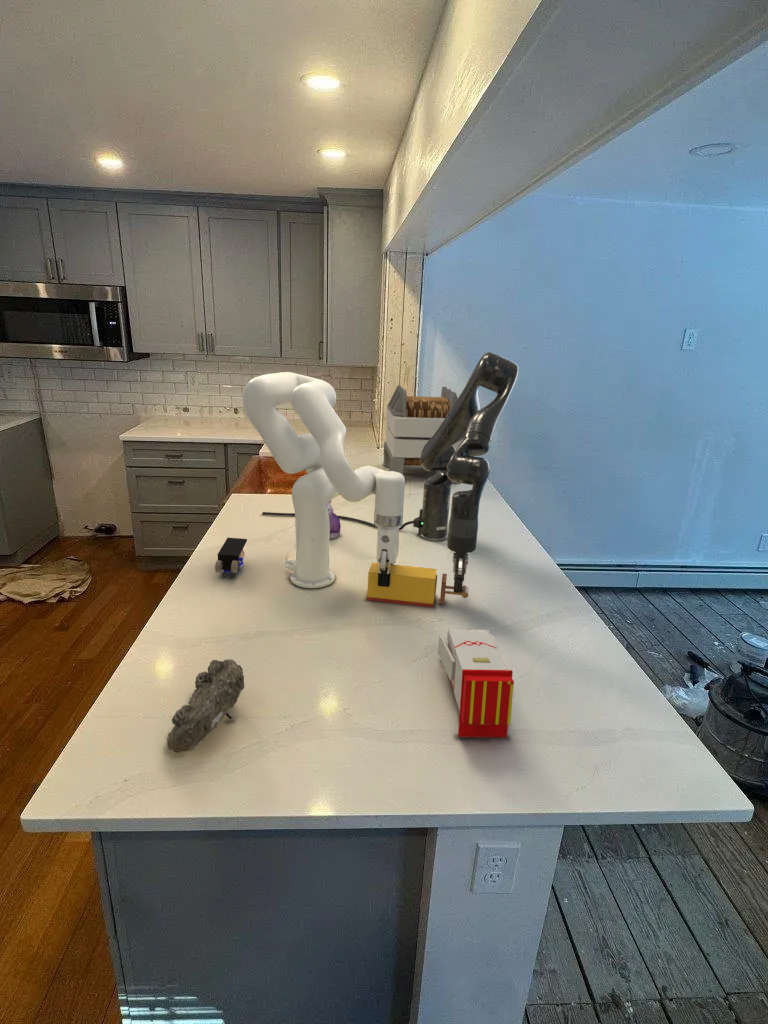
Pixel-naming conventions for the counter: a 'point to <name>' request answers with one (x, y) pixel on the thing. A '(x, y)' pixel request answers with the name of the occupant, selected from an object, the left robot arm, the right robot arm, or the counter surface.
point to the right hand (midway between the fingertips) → (457, 591)
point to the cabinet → (403, 585)
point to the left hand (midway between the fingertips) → (385, 579)
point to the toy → (478, 682)
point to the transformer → (413, 426)
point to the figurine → (333, 521)
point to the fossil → (206, 705)
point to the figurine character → (230, 556)
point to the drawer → (444, 587)
